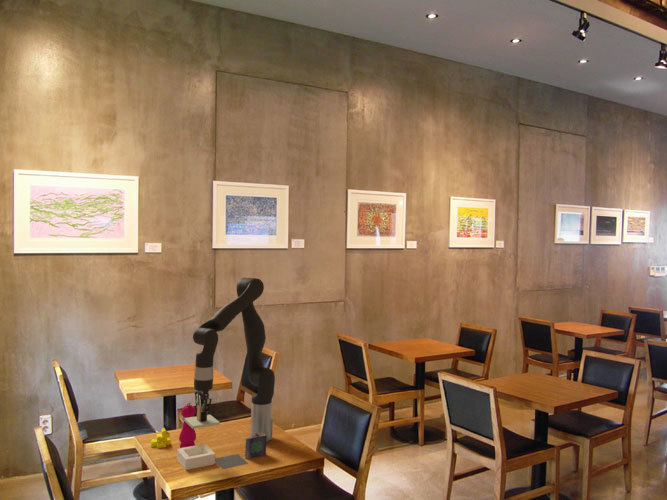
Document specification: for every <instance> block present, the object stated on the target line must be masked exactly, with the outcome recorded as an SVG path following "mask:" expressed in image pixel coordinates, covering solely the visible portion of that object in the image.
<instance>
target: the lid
mask: <svg viewBox="0 0 667 500" xmlns="http://www.w3.org/2000/svg"><path fill="white" fill-rule="evenodd" d="M205 409H206V408H205ZM184 421H185V422H186V423H187V424H188V425H189V426H190V427H191V428H192V429H194V430H195V429H200V428H201V429H202V428H206V427H213V426H215V427H216V426H220V425H221V422H220V421H219V420H218V419H216V418H215V417H214V416H212V415H211V414H207V418H206V421H203V422H202V421H201V406H200V405H197V406H196V416H194V417H189V418H184Z"/></svg>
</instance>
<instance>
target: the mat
mask: <svg viewBox="0 0 667 500" xmlns="http://www.w3.org/2000/svg"><path fill="white" fill-rule="evenodd" d="M215 464H217V465H218V466H219V467H220V468H221V469H222V470H224V469H229V468H234V467H238V466H243V465H248V464H249V462H248V461H246V459H245V458H244V457H242V456H241V455H240V454H239V453H237V454H236V453H235V454H231V455H226V456H220V457H215Z"/></svg>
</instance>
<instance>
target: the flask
mask: <svg viewBox="0 0 667 500" xmlns="http://www.w3.org/2000/svg"><path fill="white" fill-rule="evenodd" d="M266 437H267V436H266V435H265V434H258V433H257V431H255V433H254V435H253V436H246V437H245V449H244V451H245V454H244V459H245V460H250V459H254V458H258V457H265V456H266V454H267V442H266Z"/></svg>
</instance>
